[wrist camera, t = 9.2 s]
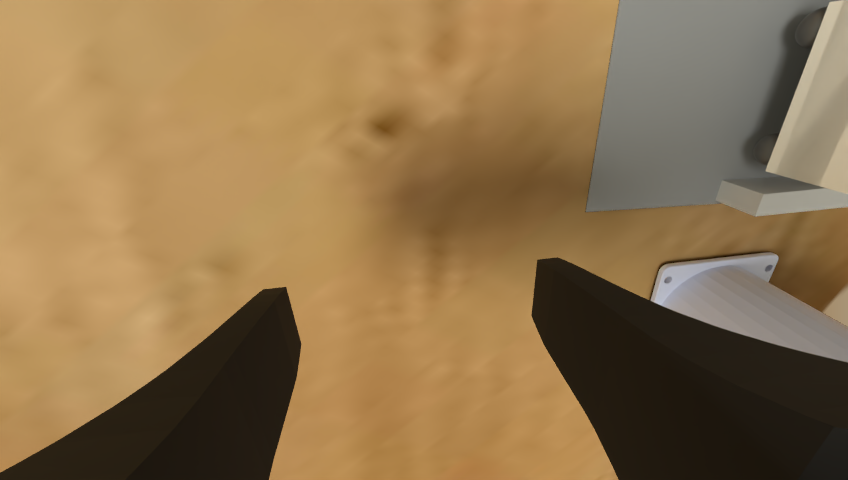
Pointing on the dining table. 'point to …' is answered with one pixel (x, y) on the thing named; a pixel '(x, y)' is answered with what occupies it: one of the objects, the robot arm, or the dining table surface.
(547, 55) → the dining table surface
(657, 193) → the dock
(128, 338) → the dining table surface
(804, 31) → the cream notched block
